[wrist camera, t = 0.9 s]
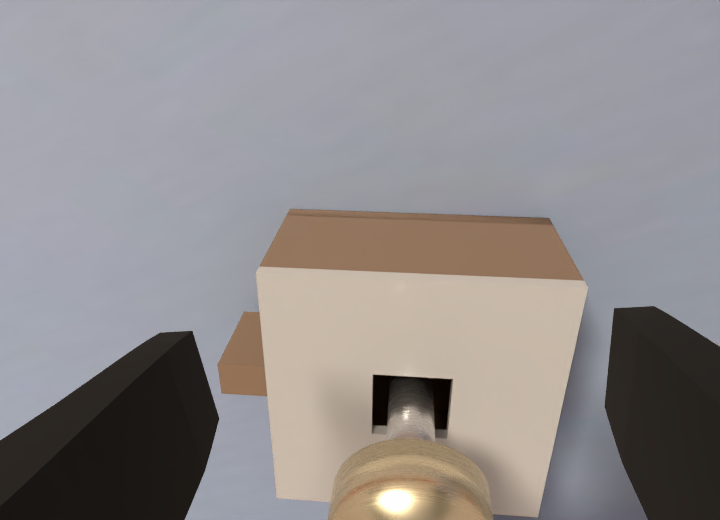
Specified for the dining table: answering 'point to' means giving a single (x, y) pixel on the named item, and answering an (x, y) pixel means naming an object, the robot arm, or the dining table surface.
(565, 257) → the tan box
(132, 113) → the dining table surface
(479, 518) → the plunger
